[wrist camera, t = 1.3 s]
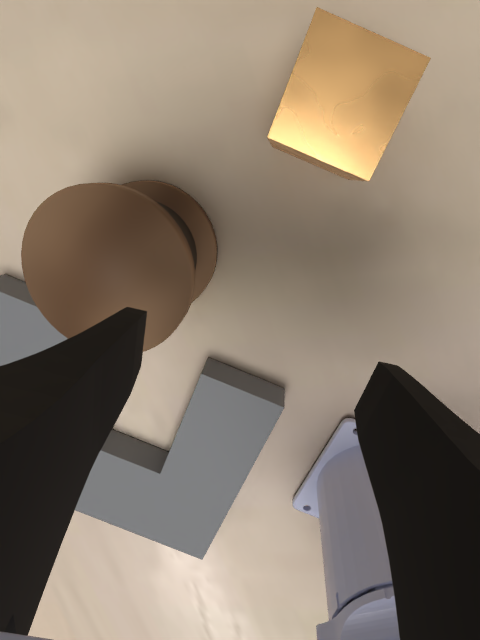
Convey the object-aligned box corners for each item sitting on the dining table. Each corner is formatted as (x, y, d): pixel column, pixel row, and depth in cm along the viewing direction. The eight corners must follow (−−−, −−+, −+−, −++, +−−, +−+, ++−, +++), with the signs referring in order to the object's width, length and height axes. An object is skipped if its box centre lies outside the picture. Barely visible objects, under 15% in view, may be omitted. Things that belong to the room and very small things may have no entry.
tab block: (390, 90, 17) (430, 58, 12) (348, 179, 18) (369, 181, 14) (308, 54, 16) (316, 6, 12) (272, 146, 18) (267, 137, 13)
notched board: (284, 388, 23) (284, 407, 21) (207, 534, 28) (202, 559, 26) (4, 274, 22) (-21, 283, 20) (-20, 445, 27) (-42, 464, 26)
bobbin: (236, 212, 19) (215, 228, 14) (193, 326, 22) (161, 378, 16) (109, 158, 19) (36, 152, 13) (81, 280, 22) (10, 317, 16)
